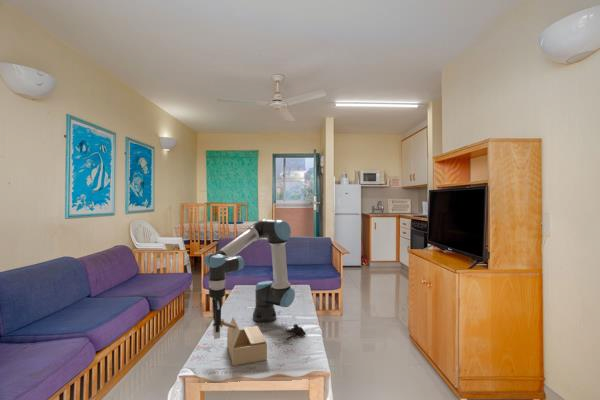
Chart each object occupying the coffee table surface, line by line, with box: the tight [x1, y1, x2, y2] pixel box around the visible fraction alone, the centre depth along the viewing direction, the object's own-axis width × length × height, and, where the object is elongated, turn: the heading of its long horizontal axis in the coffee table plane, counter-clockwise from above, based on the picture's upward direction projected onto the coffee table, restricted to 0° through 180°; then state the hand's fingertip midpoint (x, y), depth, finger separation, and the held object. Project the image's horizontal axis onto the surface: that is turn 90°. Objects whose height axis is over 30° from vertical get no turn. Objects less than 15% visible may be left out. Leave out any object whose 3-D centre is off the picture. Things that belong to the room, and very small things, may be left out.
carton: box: [226, 325, 268, 367], centre depth 154 cm, size 20×16×9 cm
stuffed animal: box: [285, 323, 306, 341], centre depth 176 cm, size 12×10×12 cm
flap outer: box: [220, 316, 241, 347], centre depth 150 cm, size 19×7×10 cm
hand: (216, 336), depth 149 cm, fingers closed on flap outer, 3 cm apart
